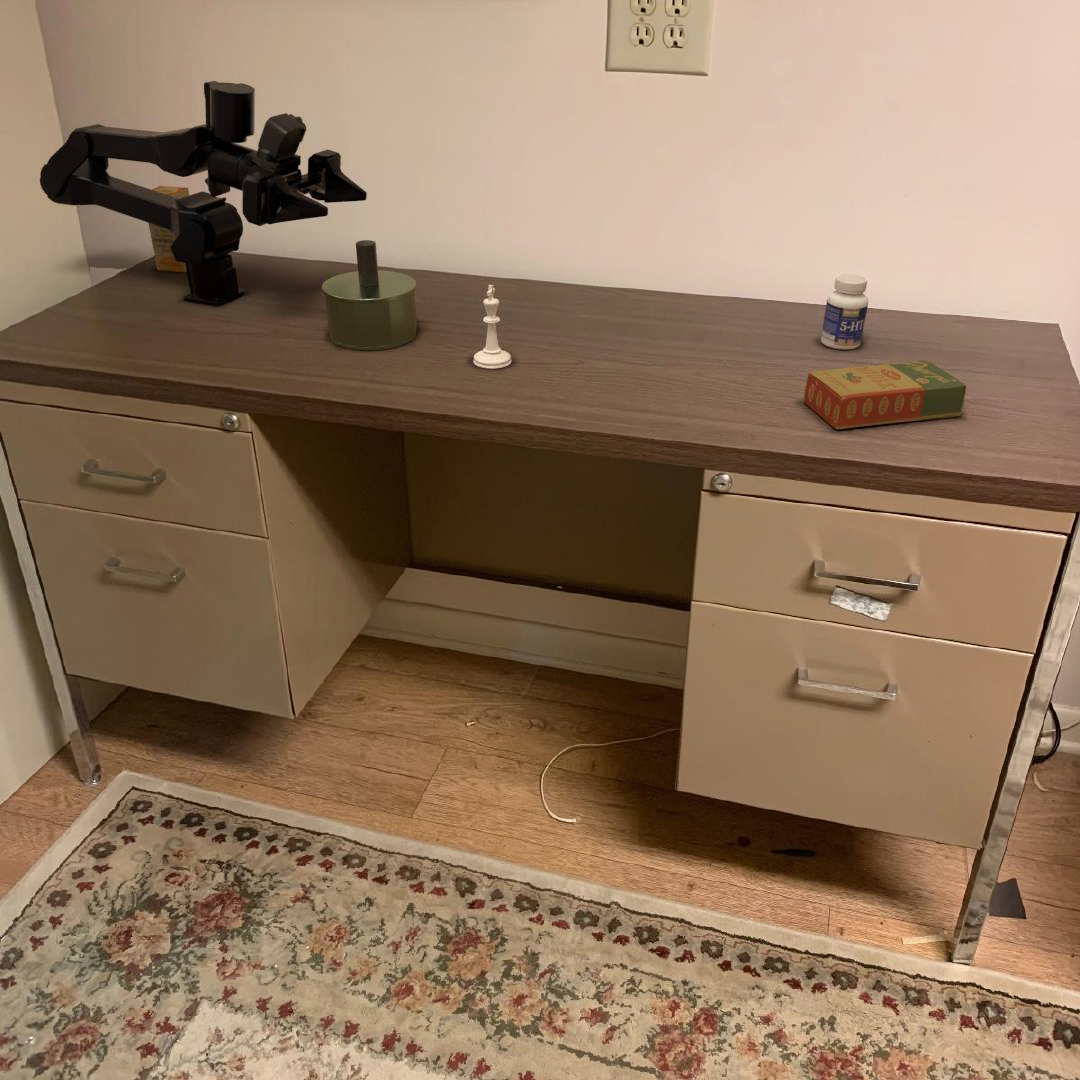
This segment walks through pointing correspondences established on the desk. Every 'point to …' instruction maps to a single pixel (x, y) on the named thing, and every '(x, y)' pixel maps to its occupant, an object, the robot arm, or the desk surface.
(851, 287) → the pill bottle
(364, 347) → the tin
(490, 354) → the chess piece
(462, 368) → the desk surface
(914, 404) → the carton
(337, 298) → the lid
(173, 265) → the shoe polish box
